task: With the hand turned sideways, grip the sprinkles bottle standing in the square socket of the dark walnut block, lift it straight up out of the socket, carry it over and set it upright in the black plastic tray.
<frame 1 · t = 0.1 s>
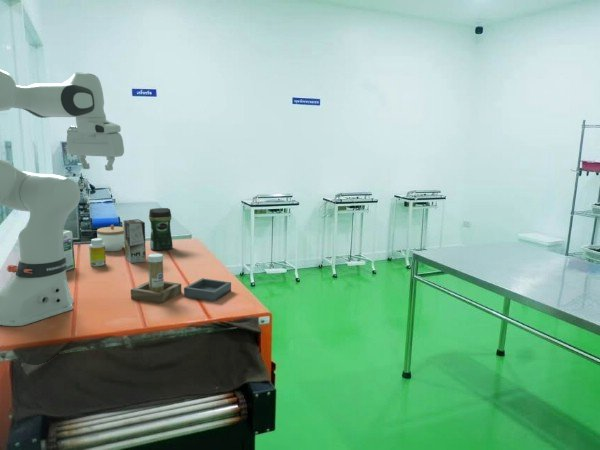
hand: (97, 169, 148), 39 cm above the table, tool pointing down, fingers open, 8 cm apart
coffee jar: (161, 249, 204), on the table
tray: (208, 293, 147), on the table
sprinkles bottle: (156, 296, 145), resting in socket block
lidded bowl: (113, 249, 201), on the table
socket block: (156, 295, 144), on the table
coffee box: (135, 260, 185), on the table
syrup box: (63, 269, 169), on the table
supplement bottle: (98, 265, 176), on the table
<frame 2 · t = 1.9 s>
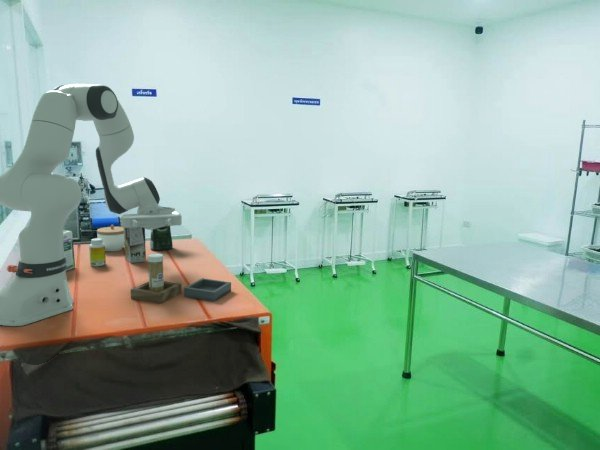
hand: (152, 224, 152), 21 cm above the table, tool horizontal, fingers open, 8 cm apart
nothing on the table moved.
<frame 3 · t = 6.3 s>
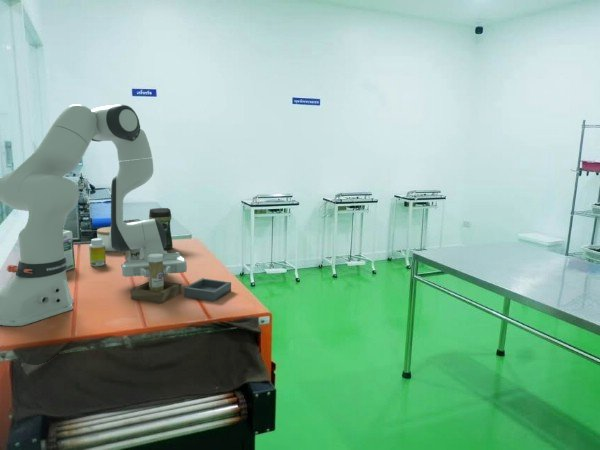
hand: (156, 273, 142), 8 cm above the table, tool horizontal, fingers closed on sprinkles bottle, 4 cm apart
sprinkles bottle: (156, 296, 145), resting in socket block, touching gripper
everything else where it was.
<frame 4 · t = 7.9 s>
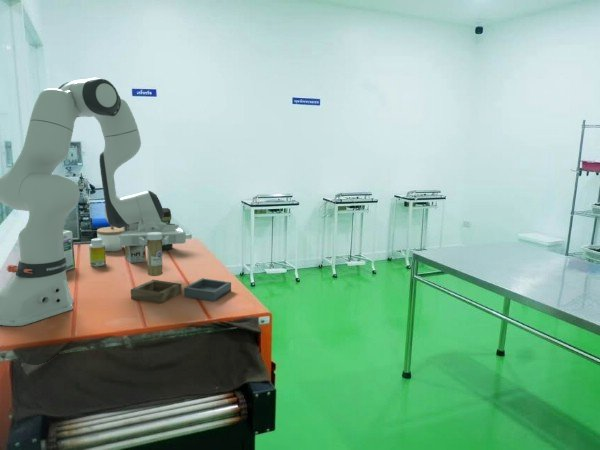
hand: (154, 242, 140), 18 cm above the table, tool horizontal, fingers closed on sprinkles bottle, 4 cm apart
sprinkles bottle: (155, 275, 143), point 7 cm above the table, touching gripper
everything else where it was.
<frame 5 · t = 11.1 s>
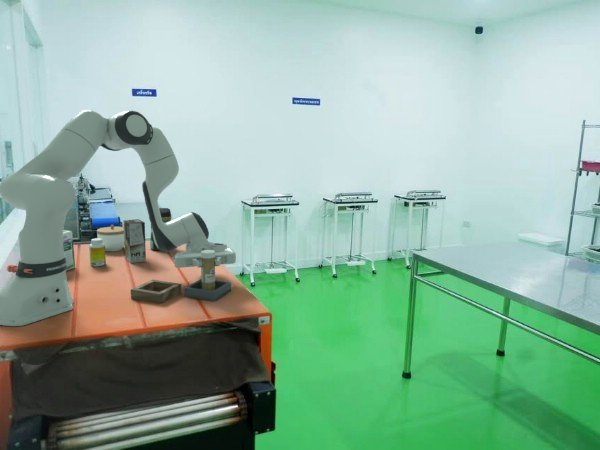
hand: (208, 264, 145), 10 cm above the table, tool horizontal, fingers closed on sprinkles bottle, 4 cm apart
sprinkles bottle: (208, 291, 148), point 1 cm above the table, touching gripper, tray
everything else where it was.
when the fingers open (10 cm above the table, at t = 11.4 s): sprinkles bottle stays where it is, resting on tray.
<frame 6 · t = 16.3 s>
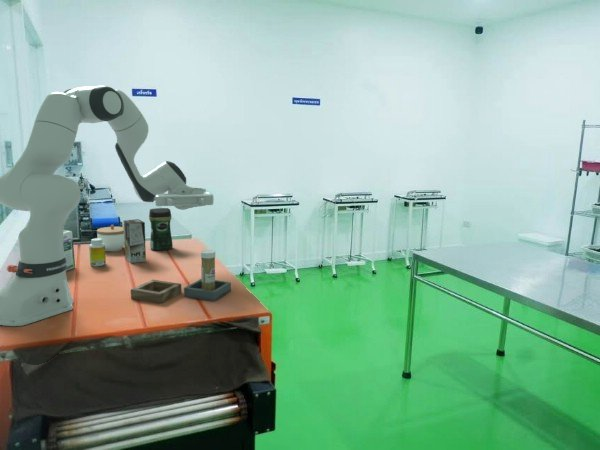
hand: (187, 202, 155), 28 cm above the table, tool horizontal, fingers open, 8 cm apart
sprinkles bottle: (208, 291, 148), point 1 cm above the table, touching tray
everything else where it was.
at the end: sprinkles bottle 0.5 cm off-centre on the tray, point 0.6 cm above the tray's base; sprinkles bottle tilted 0°; the gripper is holding nothing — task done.
